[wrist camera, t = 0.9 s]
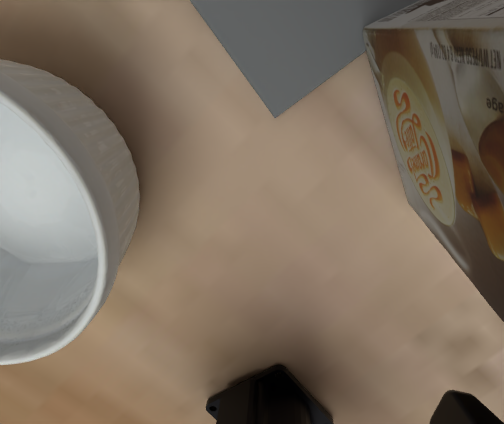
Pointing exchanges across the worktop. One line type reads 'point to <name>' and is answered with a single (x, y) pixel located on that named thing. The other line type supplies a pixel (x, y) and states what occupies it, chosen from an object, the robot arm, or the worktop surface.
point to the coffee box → (449, 125)
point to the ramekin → (57, 211)
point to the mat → (292, 40)
